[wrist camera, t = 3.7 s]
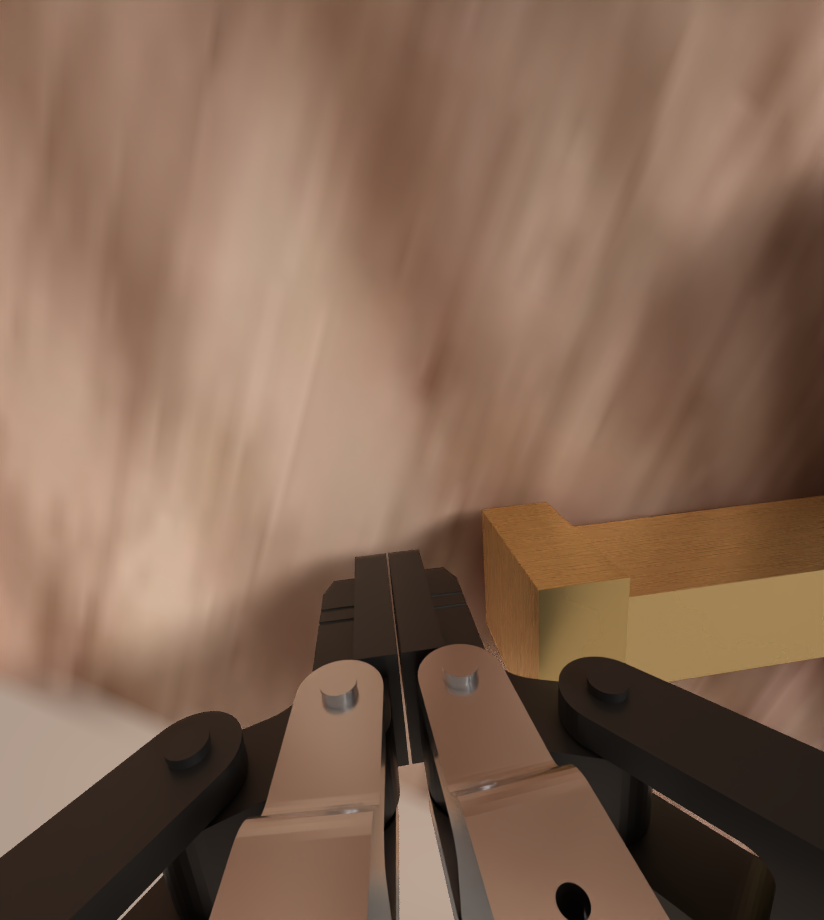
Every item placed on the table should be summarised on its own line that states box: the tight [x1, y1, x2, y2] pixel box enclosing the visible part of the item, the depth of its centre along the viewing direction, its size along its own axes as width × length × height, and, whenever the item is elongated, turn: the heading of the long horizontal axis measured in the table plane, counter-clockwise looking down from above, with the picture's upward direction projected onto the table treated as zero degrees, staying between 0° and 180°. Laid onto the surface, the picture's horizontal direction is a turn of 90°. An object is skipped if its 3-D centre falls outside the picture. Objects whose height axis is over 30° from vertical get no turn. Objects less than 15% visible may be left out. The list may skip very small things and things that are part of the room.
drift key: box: [482, 495, 824, 682], centre depth 10 cm, size 11×3×4 cm, turn 95°
